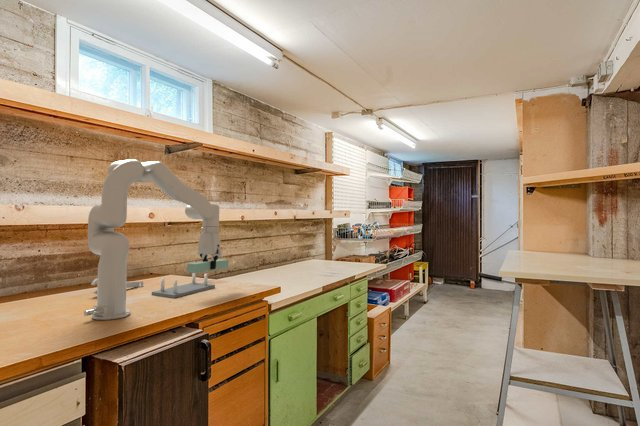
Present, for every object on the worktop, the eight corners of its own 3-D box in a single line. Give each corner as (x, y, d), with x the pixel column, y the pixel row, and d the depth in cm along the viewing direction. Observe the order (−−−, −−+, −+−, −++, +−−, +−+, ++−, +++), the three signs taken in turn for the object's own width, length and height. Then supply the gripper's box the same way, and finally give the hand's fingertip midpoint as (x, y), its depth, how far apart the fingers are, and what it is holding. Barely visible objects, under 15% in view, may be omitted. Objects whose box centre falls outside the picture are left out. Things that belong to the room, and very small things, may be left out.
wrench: (142, 291, 196) (92, 297, 167) (139, 291, 196) (89, 296, 168) (144, 276, 197) (94, 278, 168) (141, 276, 197) (91, 278, 169)
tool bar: (194, 273, 165) (194, 264, 165) (187, 272, 167) (187, 263, 167) (228, 267, 187) (228, 259, 187) (221, 267, 188) (222, 259, 189)
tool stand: (174, 298, 170) (174, 281, 170) (151, 295, 176) (152, 279, 176) (214, 287, 196) (215, 273, 196) (194, 285, 202) (194, 271, 202)
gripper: (191, 229, 177) (189, 268, 177) (219, 231, 170) (217, 271, 170) (202, 229, 184) (200, 266, 184) (229, 230, 177) (228, 269, 177)
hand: (209, 268), depth 177 cm, fingers closed on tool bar, 4 cm apart
